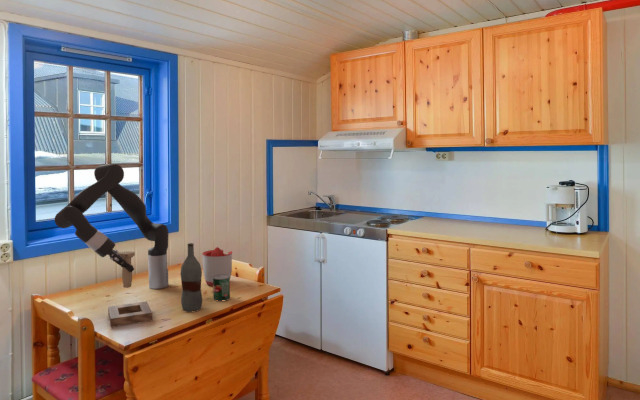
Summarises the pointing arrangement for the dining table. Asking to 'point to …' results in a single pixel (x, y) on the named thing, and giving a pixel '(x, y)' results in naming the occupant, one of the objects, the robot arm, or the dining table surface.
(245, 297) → the dining table surface
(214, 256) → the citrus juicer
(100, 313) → the dining table surface
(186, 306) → the bottle
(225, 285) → the canned tomato
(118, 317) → the holder
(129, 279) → the handle
